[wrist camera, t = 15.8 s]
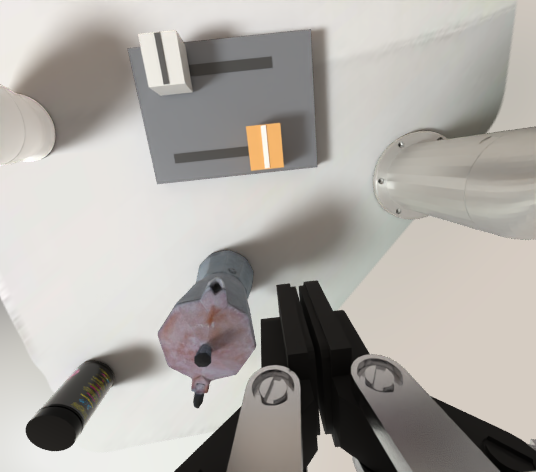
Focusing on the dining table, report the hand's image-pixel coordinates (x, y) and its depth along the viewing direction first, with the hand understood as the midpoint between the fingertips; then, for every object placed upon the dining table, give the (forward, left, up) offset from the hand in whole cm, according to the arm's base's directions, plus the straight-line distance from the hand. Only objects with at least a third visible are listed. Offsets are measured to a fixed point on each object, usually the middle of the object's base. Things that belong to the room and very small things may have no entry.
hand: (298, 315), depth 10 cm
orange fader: (0, -8, -26) cm, 27 cm away
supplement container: (+34, +27, -29) cm, 52 cm away
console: (+4, -13, -29) cm, 32 cm away
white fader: (+10, -18, -26) cm, 33 cm away
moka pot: (+8, +11, -29) cm, 32 cm away
